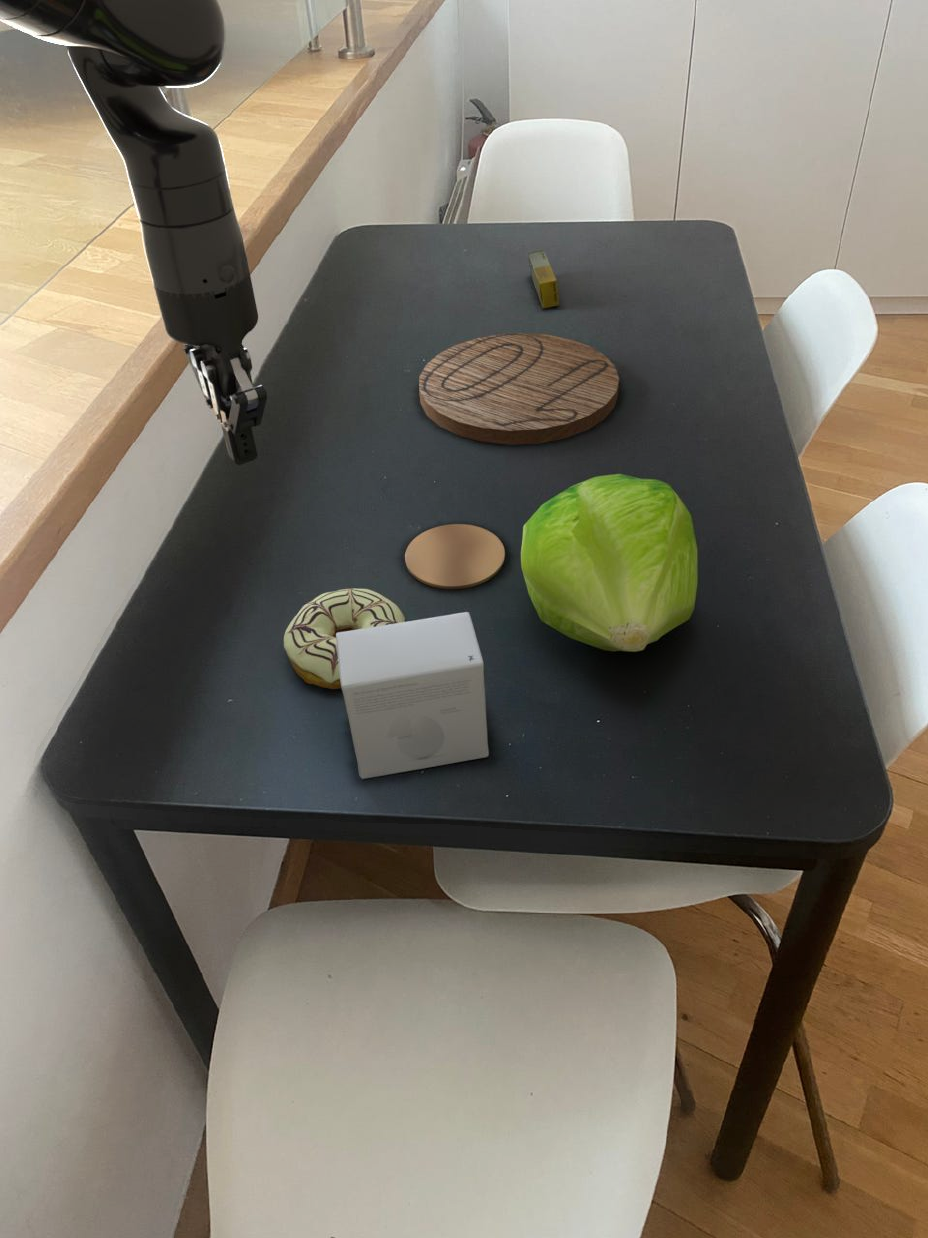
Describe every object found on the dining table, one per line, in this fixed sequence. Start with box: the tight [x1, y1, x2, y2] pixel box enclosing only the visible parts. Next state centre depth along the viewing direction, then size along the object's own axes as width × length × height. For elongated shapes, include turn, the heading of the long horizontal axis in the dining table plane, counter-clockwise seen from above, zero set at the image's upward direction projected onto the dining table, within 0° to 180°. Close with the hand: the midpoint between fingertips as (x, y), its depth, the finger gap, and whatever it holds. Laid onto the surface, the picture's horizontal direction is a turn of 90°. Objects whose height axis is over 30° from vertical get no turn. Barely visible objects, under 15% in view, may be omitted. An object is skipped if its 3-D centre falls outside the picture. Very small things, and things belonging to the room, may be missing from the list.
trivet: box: [418, 332, 620, 446], centre depth 116 cm, size 25×25×2 cm
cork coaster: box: [404, 523, 506, 590], centre depth 92 cm, size 10×10×1 cm
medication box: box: [527, 250, 560, 309], centre depth 136 cm, size 12×3×4 cm, turn 5°
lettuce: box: [520, 473, 699, 653], centre depth 79 cm, size 15×20×14 cm
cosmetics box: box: [336, 611, 490, 780], centre depth 71 cm, size 10×6×10 cm, turn 100°
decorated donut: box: [283, 587, 406, 690], centre depth 81 cm, size 10×11×4 cm
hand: (244, 458), depth 84 cm, fingers closed
